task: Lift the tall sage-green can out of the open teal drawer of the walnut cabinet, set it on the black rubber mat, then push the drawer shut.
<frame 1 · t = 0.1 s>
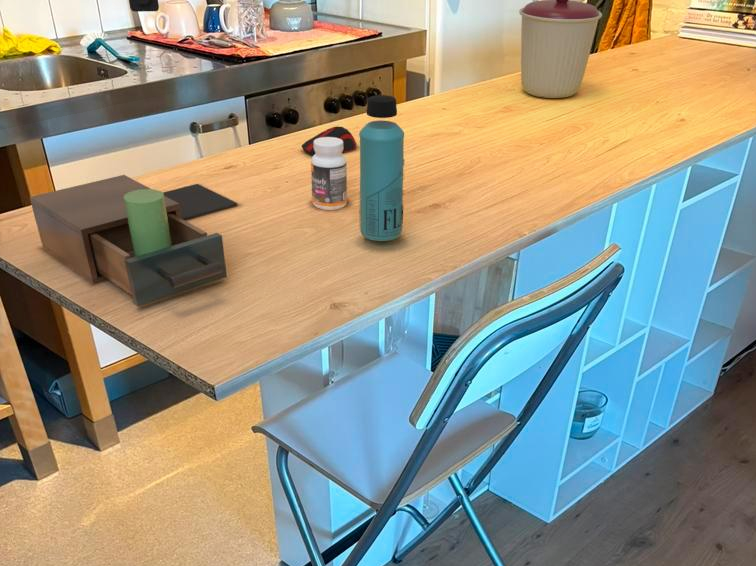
hand: (148, 3, 97), 31 cm above the breakfast bar, tool pointing down, fingers open, 9 cm apart
pill bottle: (329, 206, 133), on the breakfast bar
drawer: (160, 258, 107), point 4 cm above the breakfast bar, slide at 10.0 cm, touching green can
cabinet: (115, 253, 117), on the breakfast bar
canister: (549, 94, 190), on the breakfast bar
beverage bottle: (380, 243, 122), on the breakfast bar
computer mouse: (330, 152, 155), on the breakfast bar
green can: (156, 267, 109), point 2 cm above the breakfast bar, touching drawer
mat: (186, 205, 132), on the breakfast bar
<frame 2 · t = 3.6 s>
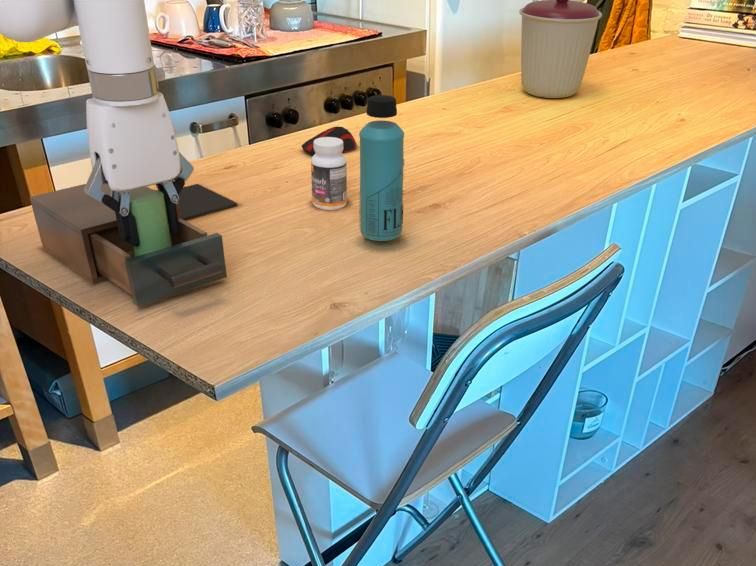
hand: (150, 235, 106), 6 cm above the breakfast bar, tool pointing down, fingers closed on green can, 5 cm apart
green can: (156, 267, 109), point 2 cm above the breakfast bar, touching drawer, gripper
everything else where it was.
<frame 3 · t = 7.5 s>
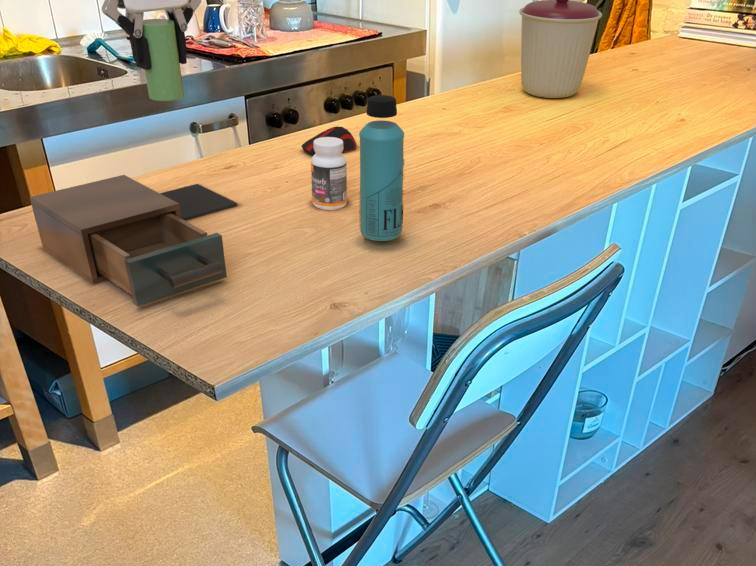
hand: (161, 63, 116), 21 cm above the breakfast bar, tool pointing down, fingers closed on green can, 5 cm apart
drawer: (160, 258, 107), point 4 cm above the breakfast bar, slide at 10.0 cm
green can: (166, 96, 119), point 17 cm above the breakfast bar, touching gripper
everything else where it was.
when the fingers open (5 cm above the breakfast bar, at t = 11.6 s): green can stays where it is, resting on mat.
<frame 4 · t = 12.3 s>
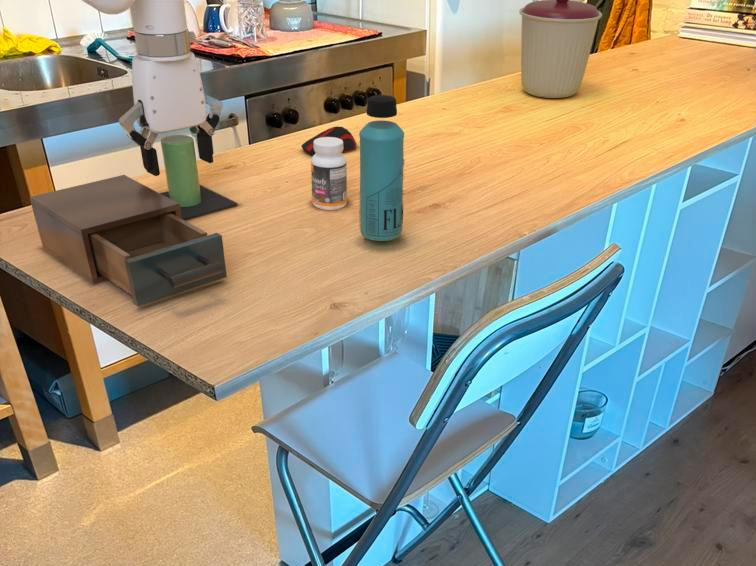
hand: (180, 167, 128), 6 cm above the breakfast bar, tool pointing down, fingers open, 9 cm apart
green can: (185, 201, 132), point 1 cm above the breakfast bar, touching mat
everything else where it was.
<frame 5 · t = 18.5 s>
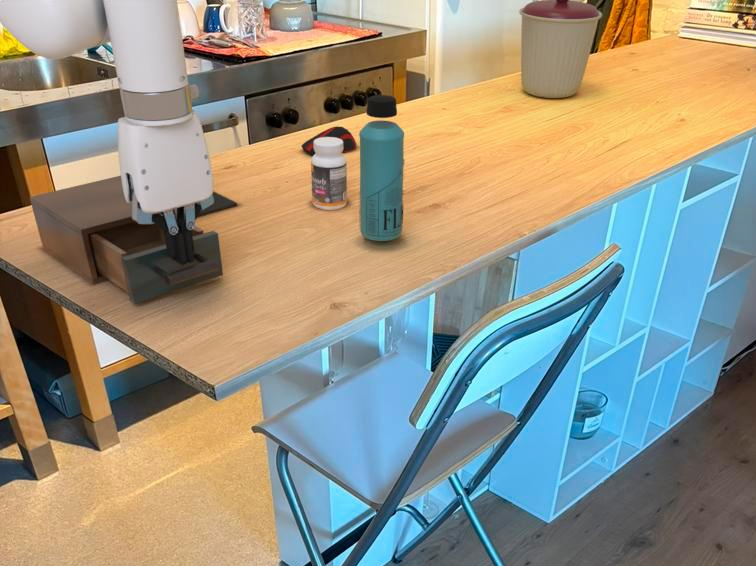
hand: (182, 259, 103), 5 cm above the breakfast bar, tool pointing down, fingers closed
drawer: (157, 256, 108), point 4 cm above the breakfast bar, slide at 9.1 cm
everything else where it was.
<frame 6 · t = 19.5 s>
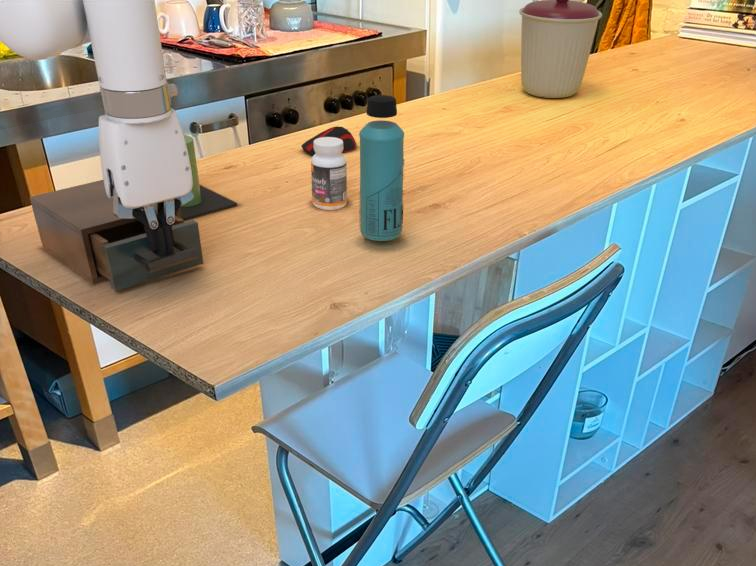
hand: (162, 253, 106), 5 cm above the breakfast bar, tool pointing down, fingers closed
drawer: (138, 244, 110), point 4 cm above the breakfast bar, slide at 4.2 cm, touching gripper
everything else where it was.
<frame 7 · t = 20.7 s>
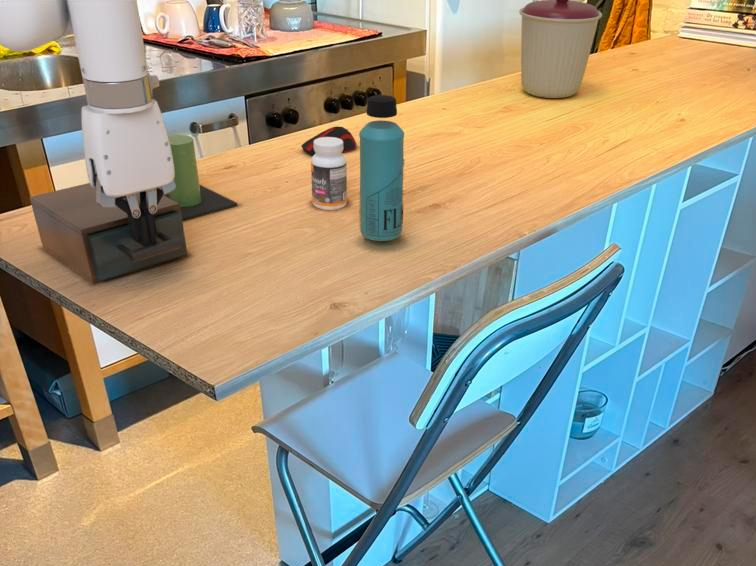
hand: (145, 242, 108), 5 cm above the breakfast bar, tool pointing down, fingers closed
drawer: (123, 235, 113), point 4 cm above the breakfast bar, slide at 0.0 cm, touching cabinet, gripper
everything else where it was.
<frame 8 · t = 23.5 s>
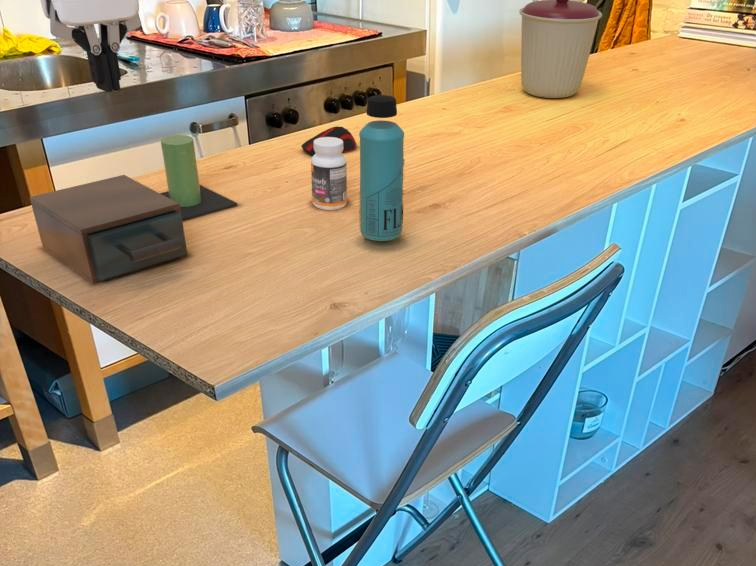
hand: (108, 88, 98), 23 cm above the breakfast bar, tool pointing down, fingers closed
drawer: (123, 235, 113), point 4 cm above the breakfast bar, slide at 0.0 cm
everything else where it was.
at the end: green can inside the target area on the mat (0.0 cm from its centre), point 0.6 cm above the mat's base; green can tilted 0°; drawer slide at 0.0 cm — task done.
